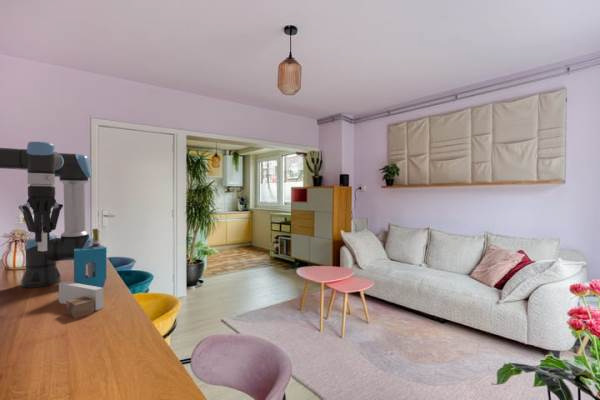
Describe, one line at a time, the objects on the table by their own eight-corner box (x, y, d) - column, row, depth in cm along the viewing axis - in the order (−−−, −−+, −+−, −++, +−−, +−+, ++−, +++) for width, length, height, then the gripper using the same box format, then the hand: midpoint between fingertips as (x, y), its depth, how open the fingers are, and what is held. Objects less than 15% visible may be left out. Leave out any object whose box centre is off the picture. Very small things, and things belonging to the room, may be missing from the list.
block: (74, 296, 132) (73, 250, 132) (74, 293, 136) (73, 249, 136) (106, 291, 139) (106, 248, 139) (105, 288, 143) (105, 246, 143)
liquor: (106, 284, 150) (106, 227, 149) (104, 288, 143) (104, 229, 143) (88, 286, 147) (88, 228, 146) (85, 290, 140) (85, 230, 140)
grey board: (59, 302, 125) (58, 283, 124) (66, 300, 127) (66, 281, 127) (95, 310, 116) (95, 290, 116) (103, 308, 119) (103, 287, 119)
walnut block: (66, 313, 114) (66, 300, 114) (84, 308, 119) (84, 296, 119) (75, 318, 109) (75, 305, 109) (94, 313, 114) (94, 300, 114)
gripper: (26, 185, 102) (27, 255, 103) (68, 185, 114) (68, 248, 115) (13, 185, 104) (14, 253, 105) (55, 185, 117) (55, 246, 118)
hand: (42, 250), depth 110 cm, fingers closed
